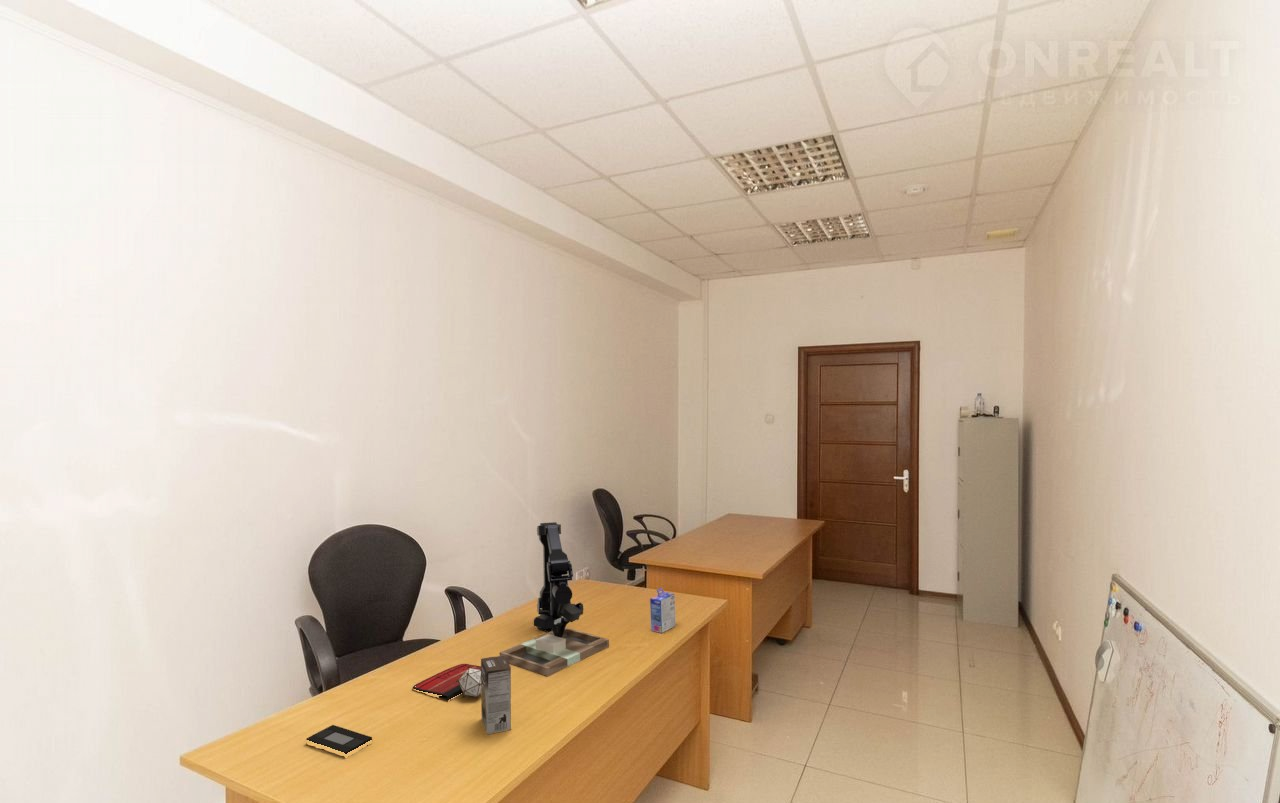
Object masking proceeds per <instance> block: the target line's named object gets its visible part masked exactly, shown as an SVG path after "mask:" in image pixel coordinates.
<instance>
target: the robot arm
mask: <svg viewBox="0 0 1280 803" xmlns="http://www.w3.org/2000/svg"><path fill="white" fill-rule="evenodd" d="M536 534H537V536H538V540H539V542H540V543H541V545H542V549H543V550H542V552H543V556H542V558H543V560H542V561H543V563H542V564H543V585H542V588H541V590H540V591H539V597H538V598H537V603H536V611H537V614H538V616H535V618H533V626H534V627H537V630H541V631H544V632H546V633H549V632H551V631H553V633H554V635H555V636H556V637H560V638H562V636H563V633H564V630H565V627H566V628H567V625H568V624H569V623H573V622H576V621H578V620H580V617H581V616H582V615H584V604H583V603H582V602H578V603H576V604H575V603H572V602H571V599H572V598H573V591H572V589H571V587H570V585H569V584H568V583H569V582H568V581H572V580H573V577H574V571H573V565H572V563H571V561H570V560H569V557H568V555H567V553H565V552H564V550H563V547H562V543H561V538H560V537H561V536H560V535H561V534H562V525H561V524H559V523H557V522H555V521H554V522H540V523H539V525H537V527H536Z"/></svg>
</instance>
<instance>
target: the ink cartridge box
mask: <svg viewBox="0 0 1280 803" xmlns="http://www.w3.org/2000/svg"><path fill="white" fill-rule="evenodd" d="M660 591H661V592H660ZM656 592H657V594H656V595H655V596H653V597H651V598H649V603H650V604H649V605H650V608H649V609H650V628H651V629H650V630H651V631H652V632H656V633H660V634H663V633H665V632H667V631H668V630H670V629H672V628H674V627H676V624H677V623H676V622H677V621H676V593H671V592H666V591H664V589H663V588H662V587H661V588H658V589H656Z"/></svg>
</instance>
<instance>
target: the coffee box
mask: <svg viewBox="0 0 1280 803" xmlns="http://www.w3.org/2000/svg"><path fill="white" fill-rule="evenodd" d="M480 666H481V693H480V694H481V695H480V698H481V702H480V704H481V722H482V724H483V726H484V729H485V732H486V735H491V734H490V733H492V734H496V733H495V732H497V733H500V731H502V732H506V730H507V731H511V730H512V727H511V726H512V721H511V720H512V718H511V717H512V716H511V714H512V709H511V708H512V667H511V664H510V663H508V662H507V660H506V658H505V656H500V655H498V656H489V657H483V658H481V659H480ZM510 729H511V730H510Z"/></svg>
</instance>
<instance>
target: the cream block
mask: <svg viewBox="0 0 1280 803" xmlns="http://www.w3.org/2000/svg"><path fill="white" fill-rule="evenodd" d="M565 648H566V639H564V638H560V637H556V636H553V635H549V634H548V635H545V636H543V637H540V638H538V639H536V649H539V650H542V651H546V652H549V653H552V654H554V653H556V652H558V651H560V650H563V649H565Z"/></svg>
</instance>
